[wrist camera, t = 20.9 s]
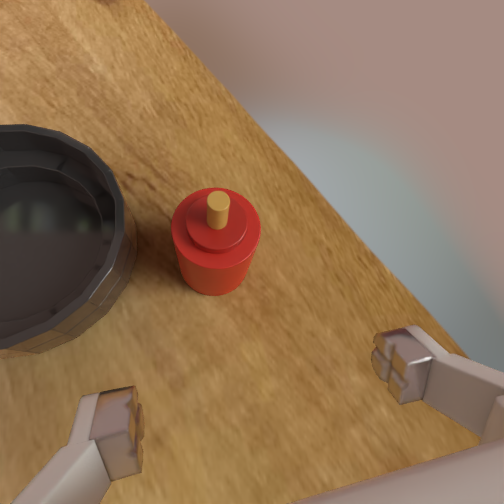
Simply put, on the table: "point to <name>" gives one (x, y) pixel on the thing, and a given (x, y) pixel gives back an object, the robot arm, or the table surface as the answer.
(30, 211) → the bowl
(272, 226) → the table surface
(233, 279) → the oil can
